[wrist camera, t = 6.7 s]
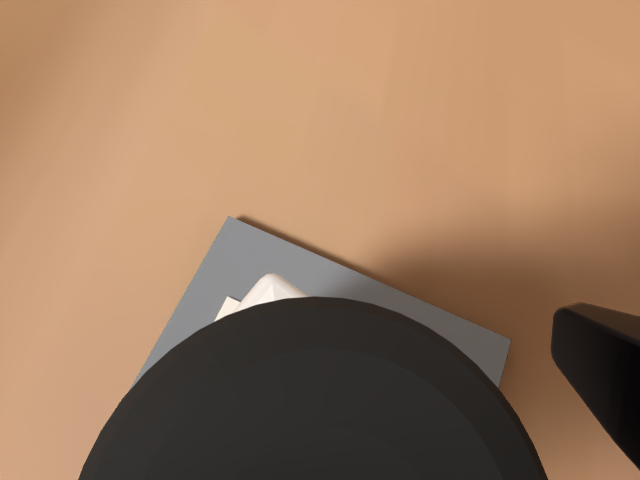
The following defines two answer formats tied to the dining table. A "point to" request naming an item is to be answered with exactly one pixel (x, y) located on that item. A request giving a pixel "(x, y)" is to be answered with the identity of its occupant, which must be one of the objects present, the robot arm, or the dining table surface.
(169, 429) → the medicine bottle
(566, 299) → the dining table surface
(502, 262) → the dining table surface
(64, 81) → the dining table surface
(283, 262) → the label mat
